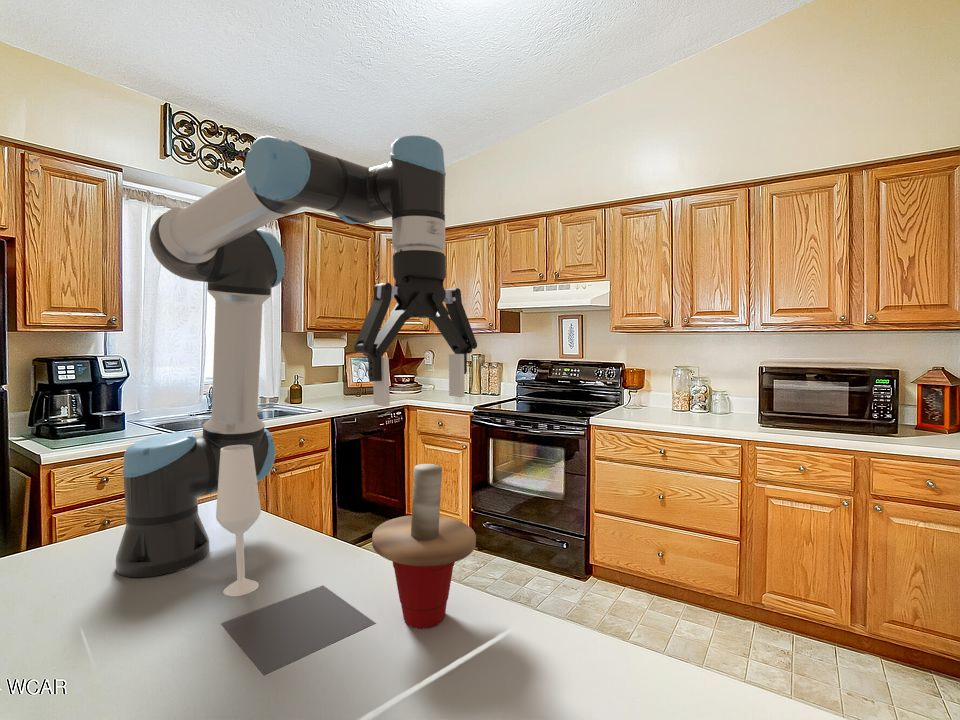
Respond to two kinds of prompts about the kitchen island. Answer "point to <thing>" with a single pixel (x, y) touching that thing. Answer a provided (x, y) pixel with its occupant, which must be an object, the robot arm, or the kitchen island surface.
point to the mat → (295, 628)
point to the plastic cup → (423, 593)
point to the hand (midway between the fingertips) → (421, 400)
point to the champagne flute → (238, 505)
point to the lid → (424, 528)
